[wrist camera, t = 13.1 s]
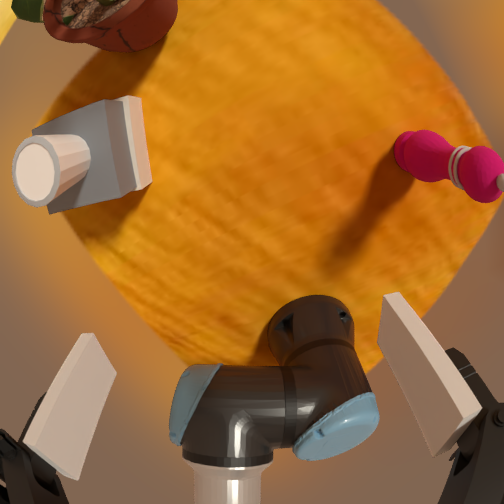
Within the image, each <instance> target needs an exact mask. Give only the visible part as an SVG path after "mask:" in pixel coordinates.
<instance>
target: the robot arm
mask: <svg viewBox="0 0 504 504" xmlns="http://www.w3.org/2000/svg"><path fill="white" fill-rule="evenodd" d="M268 341H269V347H270V350H271V352H272V354H273V355H274V357H275V358H276V360H277V362H278V363H279V365H280V366H232V365H223V364H222V363H219V364H217V365H207V364H195V365H192V366H190V367H188V368H187V369H186V370H185V371H184V372H183V374H182V375H181V377H180V379H179V382H178V384H177V387H176V390H175V394H174V397H173V402H172V406H171V413H170V419H169V429H170V433H169V436H170V440H171V441H172V443H174V444H176V445H177V446H181V445H182V447H183V454H182V458H183V460H184V461H185V462H186V463H187V464H188V465H189V466H191V468H192V469H193V470H194V500H195V501H194V503H195V504H260V497H261V495H260V494H261V473H262V471H263V470H265V469H266V468H267V467H268V466H269V465H271V464H272V462H273V450H274V449H278V448H293V453H294V454H295V455H296V457H297V458H299V459H301V460H308V461H314V460H321V459H325V458H329V457H333V456H336V455H338V454H341V453H343V452H346V451H348V450H350V449H352V448H353V447H355V446H357V445H358V444H360V443H361V442H363V441H364V440H365V439H367V438H368V437H369V436H370V435H371V434H372V433H373V431H374V430H375V429H376V427H377V425H378V422H379V412H378V408H377V404H376V400H375V395H374V394H373V392H372V390H371V388H370V385H369V383H368V380H367V378H366V375H365V373H364V371H363V368H362V366H361V363H360V361H359V359H358V356H357V354H356V352H355V349H354V322H353V319H352V316H351V314H350V312H349V310H348V308H347V307H346V306H345V305H344V304H343V303H342V302H341V301H339V300H338V299H336V298H333V297H330V296H325V295H311V296H305V297H302V298H299V299H296V300H294V301H292V302H290V303H288V304H286V305H285V306H284V307H282V308H281V309H280V310H279V311H278V312H277V313H276V314H275V315H274V317H273V318H272V320H271V322H270V324H269V327H268ZM377 343H378V345H379V347H380V349H381V351H382V353H383V355H384V357H385V358H386V360H387V362H388V364H389V366H390V368H391V370H392V372H393V374H394V375H395V378H396V380H397V382H398V383H399V386H400V387H401V390H402V391H403V394H404V396H405V398H406V400H407V402H408V404H409V406H410V408H411V410H412V412H413V414H414V417H415V419H416V421H417V423H418V425H419V427H420V429H421V432H422V434H423V436H424V438H425V441H426V443H427V445H428V447H429V450H430V452H431V454H432V457H435V456H438V455H439V454H442V453H443V452H445V451H448V450H450V449H451V448H452V446H453V445H454V444H455V443H456V442H457V444H458V446H459V448H458V449H457V450H456V451H455V452H454V453H453V454H452V456H451V457H450V459H449V461H451V460H452V459H454V457H455V459H454V462H453V465H452V468H451V471H450V474H449V477H448V479H447V482H446V485H445V487H444V490H443V492H442V495H441V497H440V500H439V502H438V504H504V403H498V402H497V401H496V399H495V398H494V397H493V395H492V394H491V392H490V391H489V389H488V388H487V386H486V385H485V383H484V382H483V380H482V379H481V378H480V376H479V375H478V373H476V371H475V369H474V368H473V366H471V365H470V362H469V361H468V359H467V358H466V357H465V355H464V354H462V353H461V352H459V351H458V350H456V349H455V348H451V349H448V350H446V351H444V350H443V349H442V347H441V346H440V344H439V343H438V342H437V340H436V339H435V338H434V337H433V335H432V334H431V332H430V331H429V330H428V328H427V327H426V326H425V324H424V323H423V322H422V320H421V319H420V318H419V317H418V315H417V314H416V313H415V312H414V310H413V309H412V308H411V306H410V305H409V304H408V303H407V302H406V300H405V299H404V298H403V297H402V295H401V294H400V293H399V292H395V293H391V294H387V295H383V303H382V311H381V319H380V326H379V333H378V340H377ZM116 374H117V373H116V371H115V370H114V368H113V366H112V365H111V363H110V362H109V360H108V358H107V356H106V355H105V353H104V351H103V349H102V348H101V346H100V344H99V342H98V341H97V339H96V337H95V335H94V333H87V334H86V333H84V334H81V336H80V337H79V339H78V340H77V342H76V344H75V345H74V347H73V348H72V350H71V352H70V353H69V355H68V357H67V358H66V360H65V362H64V363H63V365H62V367H61V368H60V370H59V372H58V374H57V375H56V377H55V379H54V381H53V382H52V384H51V386H50V388H49V390H48V392H46V393H45V394H44V395H43V396H42V397H41V398H40V399H39V400H38V402H37V404H36V406H35V410H33V412H32V414H31V417H30V418H29V420H28V422H27V424H26V426H25V428H24V430H23V432H22V434H21V437H20V438H19V440H18V442H16V441H15V440H14V439H13V438H12V437H11V436H10V435H9V434H8V433H7V432H6V431H5V430H3V429H0V479H1V480H2V481H4V482H5V483H6V488H5V487H3V486H2V485H0V504H69V502H68V500H67V497H66V495H65V492H64V490H63V487H62V484H61V481H60V479H59V477H58V475H56V474H55V473H56V470H57V471H59V472H60V473H61V474H63V475H64V476H66V477H69V478H72V479H75V480H79V477H80V473H81V470H82V467H83V464H84V461H85V457H86V454H87V451H88V448H89V445H90V442H91V440H92V437H93V434H94V431H95V428H96V425H97V423H98V420H99V417H100V414H101V412H102V409H103V406H104V404H105V401H106V399H107V396H108V393H109V391H110V389H111V386H112V384H113V381H114V379H115V377H116Z"/></svg>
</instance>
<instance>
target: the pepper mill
mask: <svg viewBox="0 0 504 504" xmlns="http://www.w3.org/2000/svg"><path fill="white" fill-rule="evenodd" d="M394 155H395V159H396V161H397V163H398V165H399V166H400V167H401V168H402V169H403V170H405V171H407V172H410V173H411V174H412V175H413V176H414V177H415V178H417V179H418V180H421V181H424V182H436V181H440V180H443V179H449V180H451V181H452V183H453V184H454V185H455V186H456V187H458V188H460V189H462V190H465V192H466V193H467V194H468V195H469V196H470V197H471V198H472V199H474V200H475V201H478V202H481V203H490V202H493V201H495V200H496V199H498V198H499V197H500V195H501V194H502V192H504V163H503V161H502V159H501V158H500V156H499V155H498V154H497V153H496V152H495V151H493V150H492V149H490V148H487V147H485V146H476V147H473V148H471V147H467V146H460V147H457V148H455V147H453V146H451V145H450V144H449V143H448V142H447V141H446V140H445V139H444V138H443V137H442V136H440V135H438V134H437V133H435V132H432V131H429V130H419V131H417V132H413V131H407V132H404V133H403V134H401V135H400V136H399V137H398V139H397V141H396V143H395V146H394Z"/></svg>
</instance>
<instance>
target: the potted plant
mask: <svg viewBox="0 0 504 504" xmlns="http://www.w3.org/2000/svg"><path fill="white" fill-rule="evenodd" d="M43 4H44V3H43V0H13V1H12V6H11V8H12V10H13V12H14V13H15V15H16V17H17V18H18V19H22V20H26V21H30V22H34V23H35V22H37V23H44V25H45V28H46V30H47V31H48V33H49V34H50V35H51V36H52V37H54V38H55V39H57V40H61V41H65V42H70V43H87V44H90V45H92V46H95V47H98V48H101V49H103V50H107V51H113V52H126V53H127V52H135V51H139V50H142V49H145V48H147V47H149V46H151V45H153V44H154V43H156V42H157V41H159V40H160V39H161V38H162V37H164V35H165V34H166V33H167V32H168V31H169V30H170V28H171V27H172V25H173V24H174V21H175V19H176V16H177V12H178V5H177V0H46V2H45V5H43ZM43 9H44V11H43ZM42 14H43V21H42Z"/></svg>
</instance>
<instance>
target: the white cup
mask: <svg viewBox="0 0 504 504" xmlns="http://www.w3.org/2000/svg"><path fill="white" fill-rule="evenodd" d="M90 161H91V156H90V149H89V147H88V145H87V143H86V142H85V140H83V139H82V138H81V137H80V136H77V135H72V134H64V135H35V136H32V137H29V138H27V139H25V140H24V141H23V142H22V143H21V144H20V146H19V147H18V148H17V150H16V153H15V156H14V158H13V165H12V176H13V181H14V186H15V188H16V190H17V192H18V194H19V196H20V197H21V198H22V199H23V200H24V201H25V202H26V203H27V204H28V205H31V206H34V207H41V206H45V205H47V204H48V203H50V202H51V201H52V200H54V199H55V198H56V197H58V196H59V195H60V194H62V193H63V192H64V191H66V190H67V189H69V188H70V187H71V186H73V185H74V184H76V183H77V182H79V181H80V180H81V179H82V178H84V177H85V175H86V173H87V172H88V170H89V167H90Z"/></svg>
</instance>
